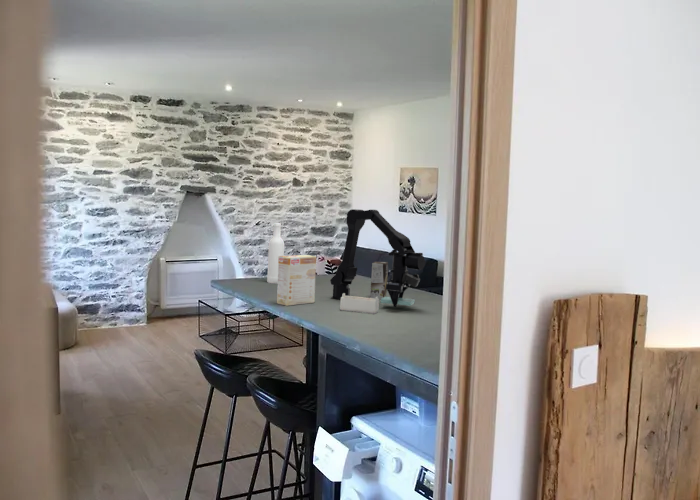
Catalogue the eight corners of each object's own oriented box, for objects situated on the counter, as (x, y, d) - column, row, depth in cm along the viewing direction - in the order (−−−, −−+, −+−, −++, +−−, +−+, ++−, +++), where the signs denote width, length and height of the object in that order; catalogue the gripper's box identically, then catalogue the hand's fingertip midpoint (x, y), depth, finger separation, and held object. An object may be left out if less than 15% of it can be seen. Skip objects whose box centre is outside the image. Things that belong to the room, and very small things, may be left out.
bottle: (264, 282, 306) (267, 222, 303) (269, 280, 313) (271, 222, 311) (280, 284, 304) (283, 223, 302) (284, 282, 312) (287, 223, 310)
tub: (339, 310, 242) (340, 294, 241) (344, 307, 247) (345, 292, 247) (374, 313, 237) (375, 298, 237) (378, 311, 243) (379, 295, 242)
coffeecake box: (304, 300, 260) (306, 254, 259) (315, 302, 255) (317, 256, 254) (275, 303, 250) (277, 255, 248) (286, 306, 245) (288, 257, 243)
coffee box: (383, 299, 272) (386, 263, 271) (369, 298, 273) (371, 262, 272) (386, 296, 281) (388, 261, 280) (373, 295, 282) (374, 260, 281)
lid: (380, 302, 250) (380, 298, 250) (385, 300, 257) (385, 296, 257) (410, 305, 246) (410, 302, 246) (414, 303, 253) (414, 299, 253)
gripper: (414, 271, 239) (411, 310, 241) (423, 266, 257) (421, 303, 258) (386, 268, 243) (384, 307, 244) (397, 264, 260) (395, 301, 262)
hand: (397, 305), depth 252 cm, fingers closed on lid, 7 cm apart
